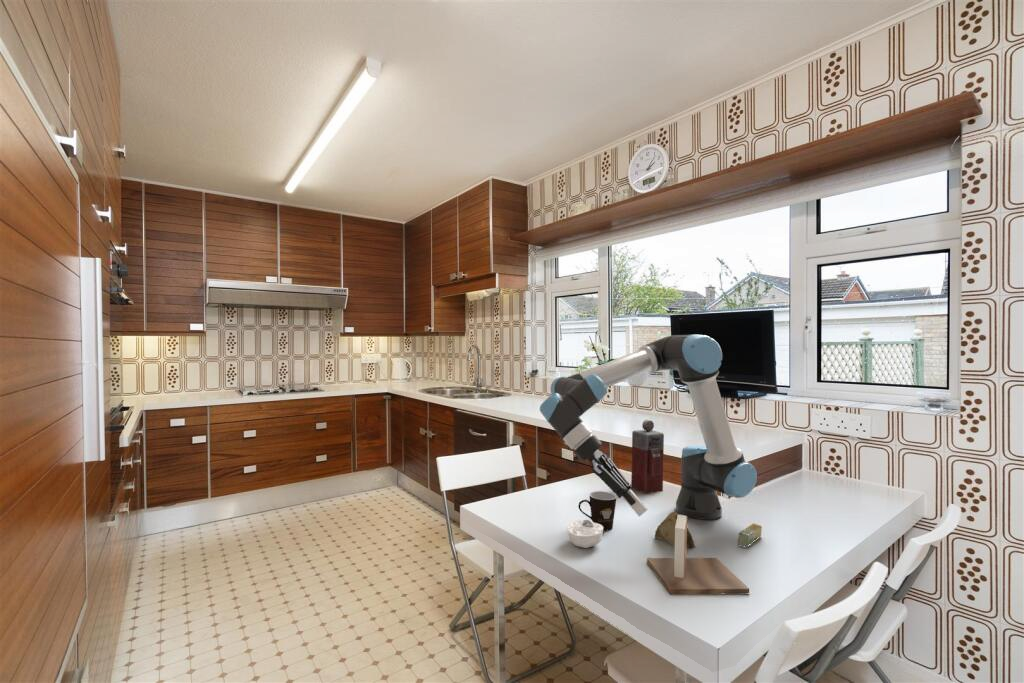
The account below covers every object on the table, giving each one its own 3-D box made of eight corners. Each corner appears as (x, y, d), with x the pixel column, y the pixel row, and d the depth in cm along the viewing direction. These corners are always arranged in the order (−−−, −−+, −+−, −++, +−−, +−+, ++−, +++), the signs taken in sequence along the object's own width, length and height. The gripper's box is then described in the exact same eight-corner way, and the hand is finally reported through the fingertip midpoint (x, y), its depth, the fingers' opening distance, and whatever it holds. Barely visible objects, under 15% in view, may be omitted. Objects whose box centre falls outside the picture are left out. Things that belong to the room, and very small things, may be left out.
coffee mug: (616, 523, 153) (617, 492, 153) (615, 533, 144) (615, 501, 145) (580, 519, 156) (581, 489, 156) (577, 528, 148) (578, 497, 148)
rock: (644, 529, 143) (663, 538, 133) (658, 504, 145) (677, 511, 135) (670, 549, 144) (690, 559, 134) (683, 524, 146) (704, 533, 137)
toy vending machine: (649, 495, 183) (651, 423, 183) (630, 487, 193) (632, 419, 193) (667, 492, 187) (668, 422, 187) (647, 484, 197) (649, 418, 197)
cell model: (558, 546, 135) (558, 522, 135) (581, 534, 144) (582, 512, 144) (588, 557, 128) (589, 532, 128) (610, 544, 137) (611, 520, 137)
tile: (674, 576, 116) (675, 527, 116) (676, 559, 125) (677, 514, 125) (684, 578, 115) (685, 529, 115) (686, 561, 124) (687, 516, 124)
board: (716, 562, 127) (716, 557, 127) (749, 593, 111) (749, 588, 111) (647, 562, 126) (647, 557, 126) (670, 594, 110) (670, 589, 110)
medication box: (746, 549, 136) (747, 535, 136) (737, 545, 138) (737, 532, 138) (761, 538, 144) (762, 525, 144) (752, 535, 146) (752, 522, 146)
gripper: (579, 446, 137) (636, 513, 130) (566, 455, 125) (628, 529, 118) (598, 430, 135) (656, 497, 128) (587, 437, 123) (651, 512, 116)
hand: (643, 512), depth 123 cm, fingers closed
